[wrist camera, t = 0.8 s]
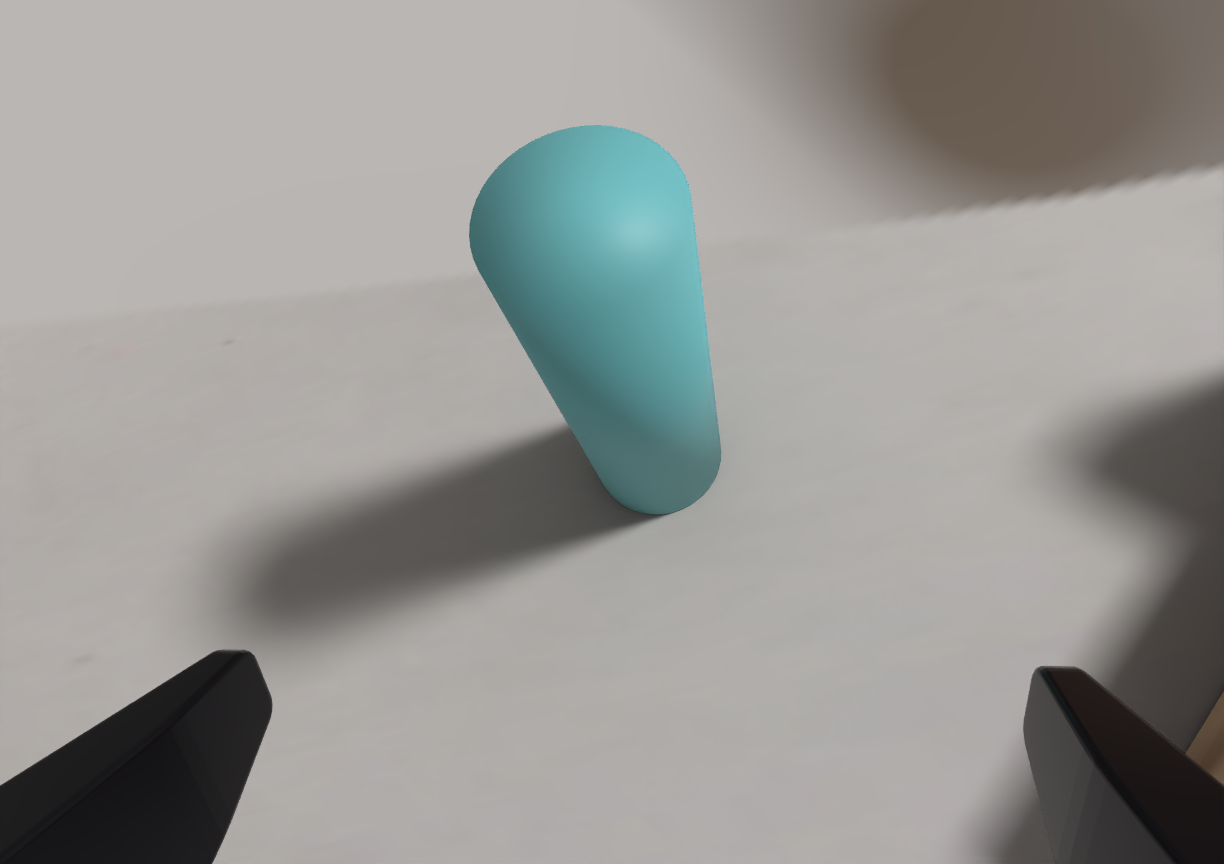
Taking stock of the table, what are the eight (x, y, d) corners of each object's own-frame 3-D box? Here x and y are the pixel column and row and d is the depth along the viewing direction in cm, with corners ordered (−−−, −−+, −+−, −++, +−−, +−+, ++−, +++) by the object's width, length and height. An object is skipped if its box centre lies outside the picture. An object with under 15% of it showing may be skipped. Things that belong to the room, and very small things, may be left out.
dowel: (691, 533, 25) (634, 346, 13) (575, 487, 26) (430, 277, 14) (740, 420, 26) (727, 154, 14) (627, 380, 27) (530, 104, 15)
